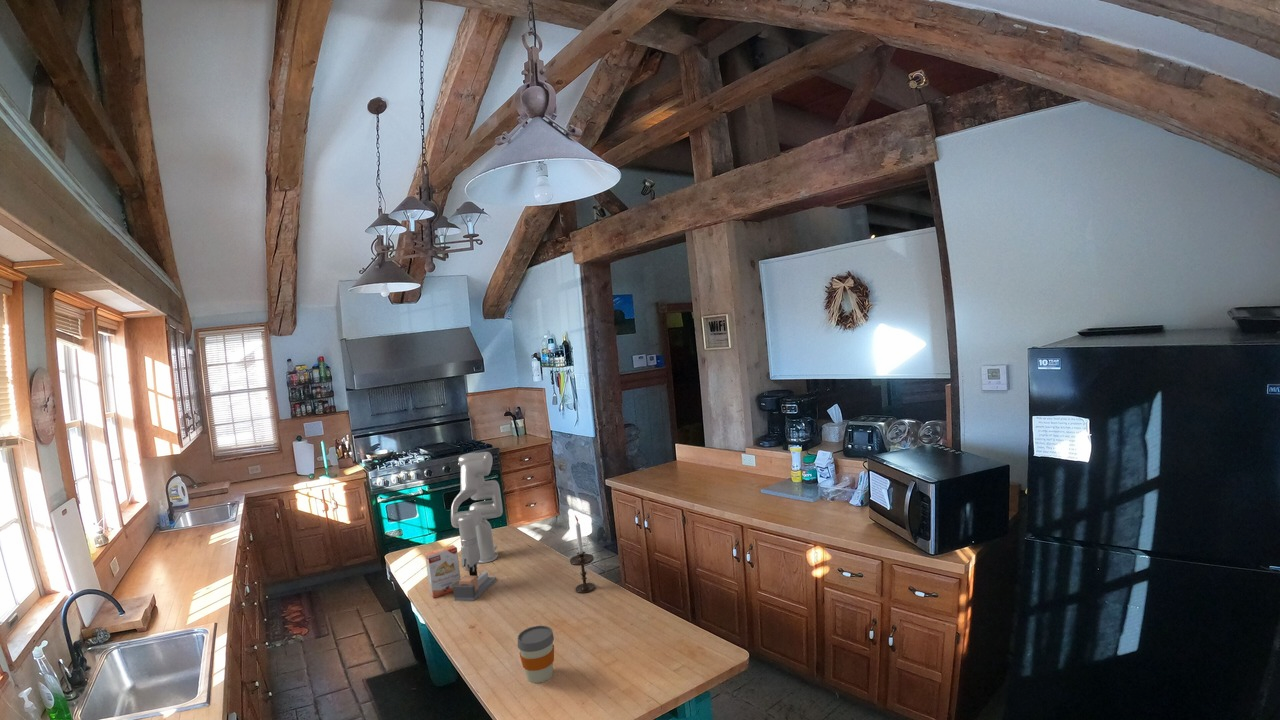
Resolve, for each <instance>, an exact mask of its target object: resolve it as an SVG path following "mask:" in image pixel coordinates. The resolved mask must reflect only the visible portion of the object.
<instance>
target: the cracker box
mask: <svg viewBox="0 0 1280 720" xmlns="http://www.w3.org/2000/svg"><path fill="white" fill-rule="evenodd" d="M458 555H459V554H458V548H457V546H455V545H454V544H452V545H448V546H445V547H442V548H438V549H433V550H431V551H427V552H425V553H424V556H425V557H424V558H425V565H426V573H427V574H426V575H427V580H428V589H429V595H430V596H431V597H432V598H433V599H434V598H435V599H436V598H437V597H441V596H443V595H446V594H449V593H452V592H453V593H454V591H453V587H454V586H455V585H459V580H461V579H462V578H461V570H460V564H459V563H460V562H459V561H460V560H459V556H458Z"/></svg>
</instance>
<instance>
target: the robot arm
mask: <svg viewBox="0 0 1280 720" xmlns="http://www.w3.org/2000/svg"><path fill="white" fill-rule="evenodd" d="M457 461H458V465H459V468H460V471H459V472H460V473H459V475H460V488H459V489H460V491H459V493H458V494H457V495H456V496H455V497H454V499H453V501H452V503H451V506H450V507H451V508H450V522H451V524H450V525H451V526H452V527H453V528H455V529H458V530H459V537H460V544H461V545H460V546H461V547H460V559H461V567H462V568H465V569H464V571H466V572H468V573H469V574H468V575H469V576H477V578H478V576H479V575H478V564H486V563H490V562H492V561H495V560H497V559H498V558H499V555H498V553H497V552H496V550H497V549H498V546H497V545H494V538H493V537H494V536H493V529H492V525H491V523H490V522H489V521H488V520H490V519H496V518H499V517H501V516H502V515H503V512H504V511H503V501H502V495H501V488H500V487H501V486H500V484H499V482H498V480H496V479H491V480H485V477H487V476H489V474H491V470H492V467H493V463H494V462H493V455H492V454H491V452H489V451H481V452H475V453H472V452H471V453H467V454H462V455H460V456H459V457H458V460H457ZM469 498H470V499H471V500H473V501H476V502H473V503H472V504H470V506H469V508H468V510H464V511H458V510H459V508H460V505H462V503H463V502H465V501H466V500H469ZM480 500H481V501H480ZM477 501H478V502H477Z"/></svg>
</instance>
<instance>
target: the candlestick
mask: <svg viewBox="0 0 1280 720" xmlns="http://www.w3.org/2000/svg"><path fill="white" fill-rule="evenodd" d="M574 517H575V520H576V524H575V530H576V537H577V545H578V552H577V553H576V555H574V556H571V558H570V559H569V562H570V564H571V565H572V566H578V567H579V566H580V567H581V568H580V569H581V571H580V576H581V580H582V583H580V584H578V585H577V586H576V587H575V589H574V590H575V593H577V594H580V595H581V594H588V593H592V592H594V590H595V589H596V585H595V584H594V582H587V579H588V577H587V571H586V570H585V565H588V564H589V565H590V563H593V561H594V560H595V559H594V555H593V554H590V553H586V551H584V548H583V541H582V533H581V524H580V523H579V519H578V517H577V516H576V515H574Z"/></svg>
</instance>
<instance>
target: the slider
mask: <svg viewBox="0 0 1280 720" xmlns="http://www.w3.org/2000/svg"><path fill="white" fill-rule="evenodd" d="M459 585H474V586H475V592H476V591H477V590H478V589H479V588H478V580H477V576H470V575H464V576H463V577H462V578H461V580H459Z"/></svg>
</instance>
